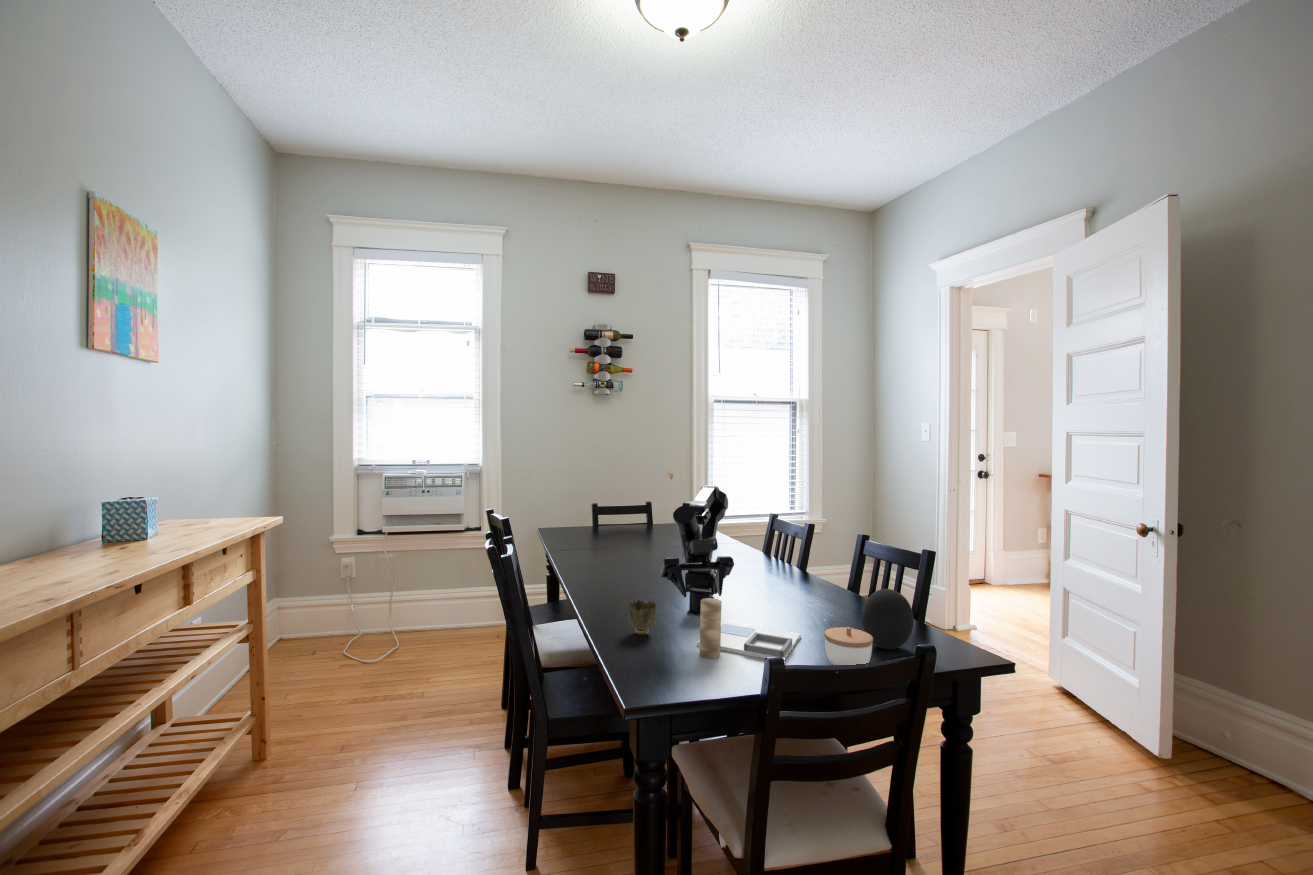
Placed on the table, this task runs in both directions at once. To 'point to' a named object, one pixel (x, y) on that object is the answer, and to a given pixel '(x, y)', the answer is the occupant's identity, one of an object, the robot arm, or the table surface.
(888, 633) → the decorative egg
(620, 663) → the table surface
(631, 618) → the cup
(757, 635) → the base plate
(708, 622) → the maple post
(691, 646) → the table surface
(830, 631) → the lidded jar
